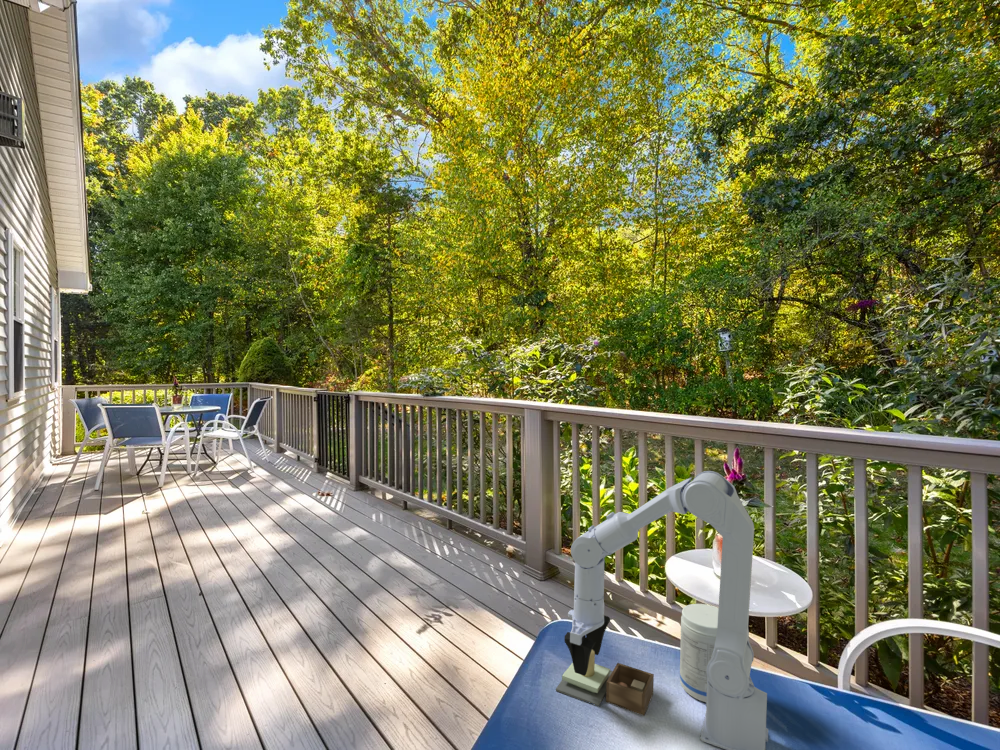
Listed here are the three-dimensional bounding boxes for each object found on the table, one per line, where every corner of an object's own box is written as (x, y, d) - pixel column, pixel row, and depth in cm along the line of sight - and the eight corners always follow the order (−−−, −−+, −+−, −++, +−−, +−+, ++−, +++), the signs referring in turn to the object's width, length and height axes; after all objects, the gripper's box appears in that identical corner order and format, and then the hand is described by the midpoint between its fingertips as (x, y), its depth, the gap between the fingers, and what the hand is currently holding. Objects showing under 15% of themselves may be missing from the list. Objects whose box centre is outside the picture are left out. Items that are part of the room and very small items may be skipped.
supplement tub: (695, 668, 103) (697, 598, 103) (741, 692, 96) (744, 616, 95) (669, 686, 97) (671, 612, 97) (716, 713, 90) (719, 633, 89)
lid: (610, 677, 99) (610, 649, 99) (597, 697, 93) (597, 667, 93) (576, 664, 103) (577, 638, 103) (561, 683, 97) (562, 655, 96)
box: (653, 694, 95) (653, 674, 95) (644, 717, 89) (644, 695, 89) (617, 682, 98) (617, 662, 98) (606, 703, 92) (606, 681, 92)
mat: (616, 674, 100) (616, 672, 100) (598, 706, 91) (598, 704, 91) (576, 661, 105) (576, 659, 105) (555, 690, 95) (555, 688, 95)
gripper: (582, 576, 106) (580, 639, 106) (555, 604, 93) (553, 676, 93) (614, 584, 102) (613, 649, 102) (591, 614, 89) (589, 688, 90)
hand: (587, 662), depth 98 cm, fingers open, 7 cm apart
